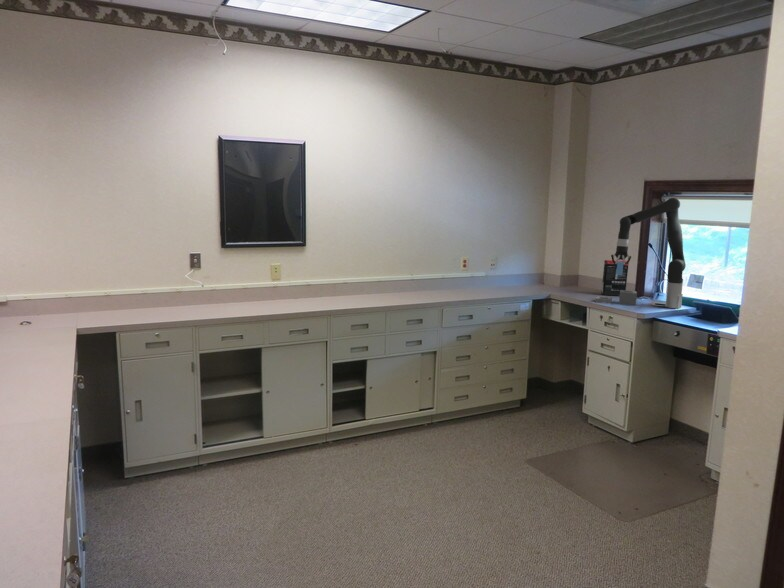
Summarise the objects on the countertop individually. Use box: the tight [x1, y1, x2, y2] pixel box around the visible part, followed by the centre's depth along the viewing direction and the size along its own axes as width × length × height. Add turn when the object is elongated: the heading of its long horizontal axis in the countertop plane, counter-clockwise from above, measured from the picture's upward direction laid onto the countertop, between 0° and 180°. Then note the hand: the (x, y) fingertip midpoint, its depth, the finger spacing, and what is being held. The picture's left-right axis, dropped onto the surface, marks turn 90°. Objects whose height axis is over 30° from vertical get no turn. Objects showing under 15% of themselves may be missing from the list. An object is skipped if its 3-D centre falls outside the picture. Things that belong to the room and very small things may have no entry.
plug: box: [616, 262, 624, 275], centre depth 405 cm, size 4×4×9 cm
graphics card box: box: [600, 259, 630, 297], centre depth 439 cm, size 17×7×27 cm, turn 84°
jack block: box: [594, 289, 638, 306], centre depth 408 cm, size 27×11×8 cm, turn 68°
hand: (619, 269), depth 405 cm, fingers closed on plug, 4 cm apart
